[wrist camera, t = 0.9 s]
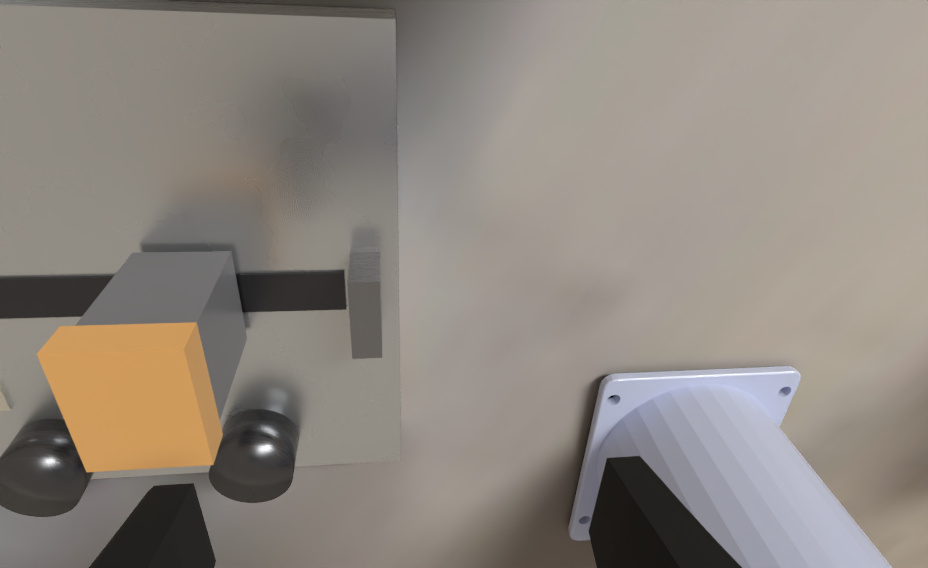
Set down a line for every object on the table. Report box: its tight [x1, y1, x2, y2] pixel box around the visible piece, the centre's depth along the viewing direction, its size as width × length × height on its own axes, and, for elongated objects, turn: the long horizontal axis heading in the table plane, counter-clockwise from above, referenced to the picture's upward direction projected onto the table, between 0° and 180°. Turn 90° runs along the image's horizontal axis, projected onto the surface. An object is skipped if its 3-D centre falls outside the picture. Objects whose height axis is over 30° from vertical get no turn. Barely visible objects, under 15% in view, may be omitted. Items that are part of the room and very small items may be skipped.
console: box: [0, 0, 401, 517], centre depth 15 cm, size 14×17×4 cm
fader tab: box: [37, 251, 247, 472], centre depth 14 cm, size 3×3×4 cm
